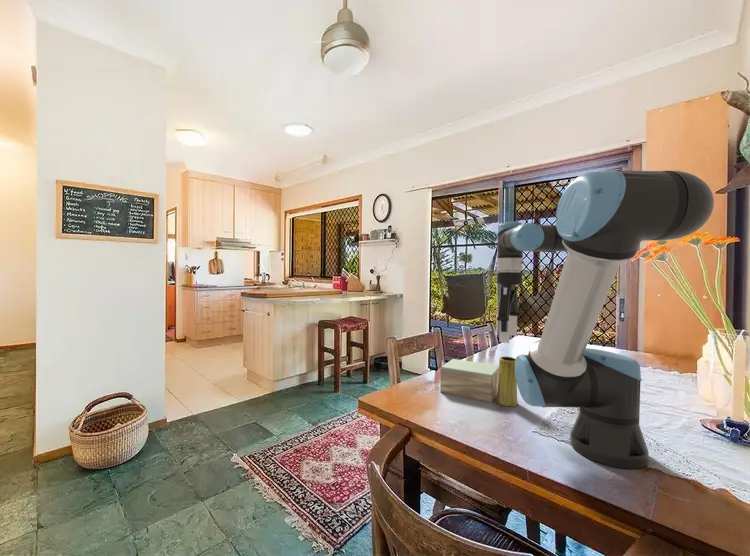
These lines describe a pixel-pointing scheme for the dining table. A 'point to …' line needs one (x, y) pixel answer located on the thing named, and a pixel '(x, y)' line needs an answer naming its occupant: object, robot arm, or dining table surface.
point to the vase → (507, 382)
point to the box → (469, 385)
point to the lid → (471, 367)
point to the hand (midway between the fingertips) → (508, 338)
